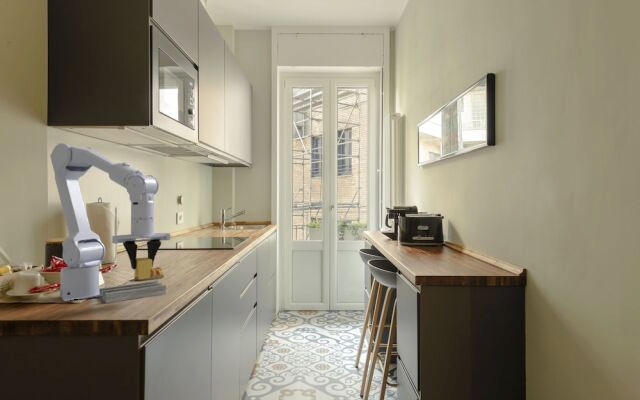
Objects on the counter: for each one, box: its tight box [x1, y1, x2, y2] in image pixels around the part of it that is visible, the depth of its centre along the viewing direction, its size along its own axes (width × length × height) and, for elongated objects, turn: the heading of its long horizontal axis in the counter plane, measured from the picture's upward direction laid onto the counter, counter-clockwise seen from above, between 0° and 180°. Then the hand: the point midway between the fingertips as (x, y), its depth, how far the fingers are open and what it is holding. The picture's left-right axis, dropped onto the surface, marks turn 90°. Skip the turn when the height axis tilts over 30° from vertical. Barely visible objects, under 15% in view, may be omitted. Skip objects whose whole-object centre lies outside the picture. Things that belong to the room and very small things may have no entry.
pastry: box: [134, 267, 165, 282], centre depth 134 cm, size 9×7×4 cm
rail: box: [99, 280, 167, 304], centre depth 111 cm, size 16×8×2 cm, turn 131°
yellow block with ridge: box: [133, 256, 153, 279], centre depth 105 cm, size 4×5×5 cm
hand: (142, 267), depth 105 cm, fingers closed on yellow block with ridge, 4 cm apart
